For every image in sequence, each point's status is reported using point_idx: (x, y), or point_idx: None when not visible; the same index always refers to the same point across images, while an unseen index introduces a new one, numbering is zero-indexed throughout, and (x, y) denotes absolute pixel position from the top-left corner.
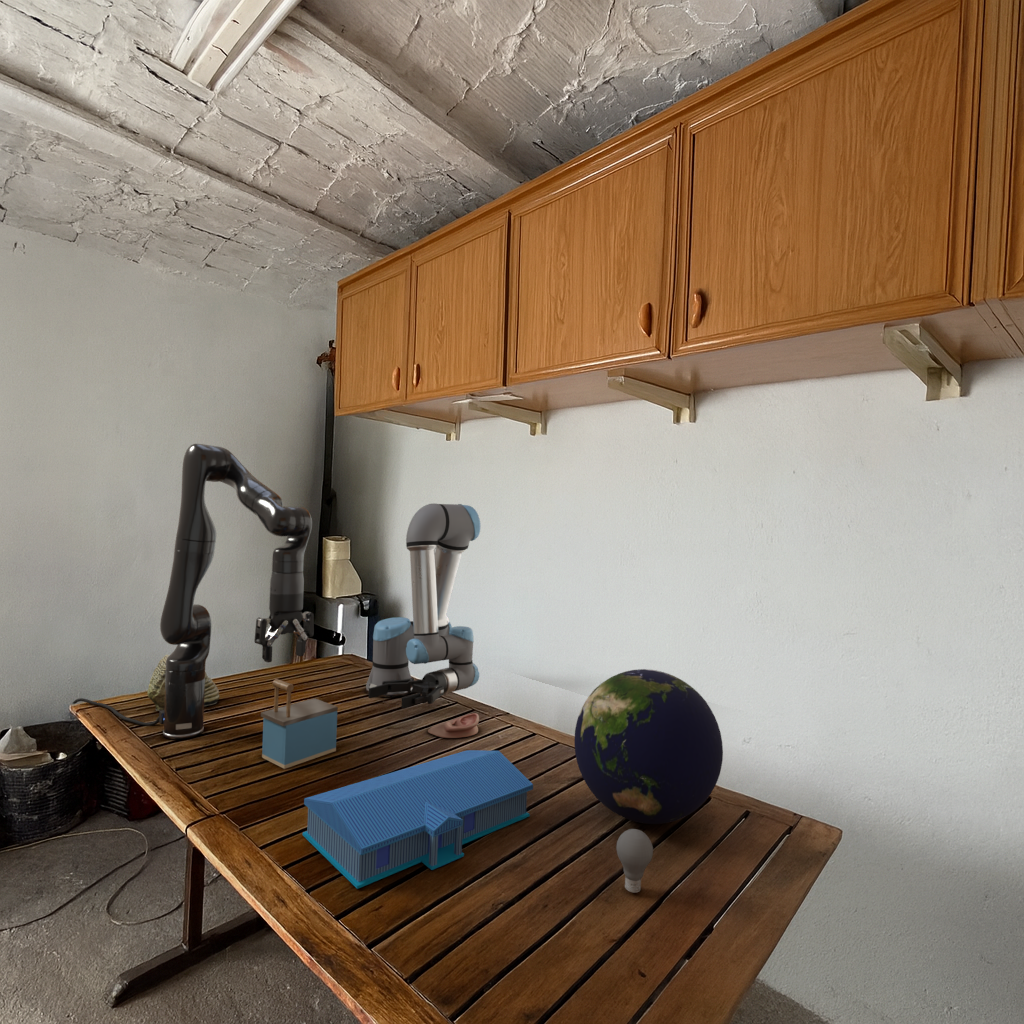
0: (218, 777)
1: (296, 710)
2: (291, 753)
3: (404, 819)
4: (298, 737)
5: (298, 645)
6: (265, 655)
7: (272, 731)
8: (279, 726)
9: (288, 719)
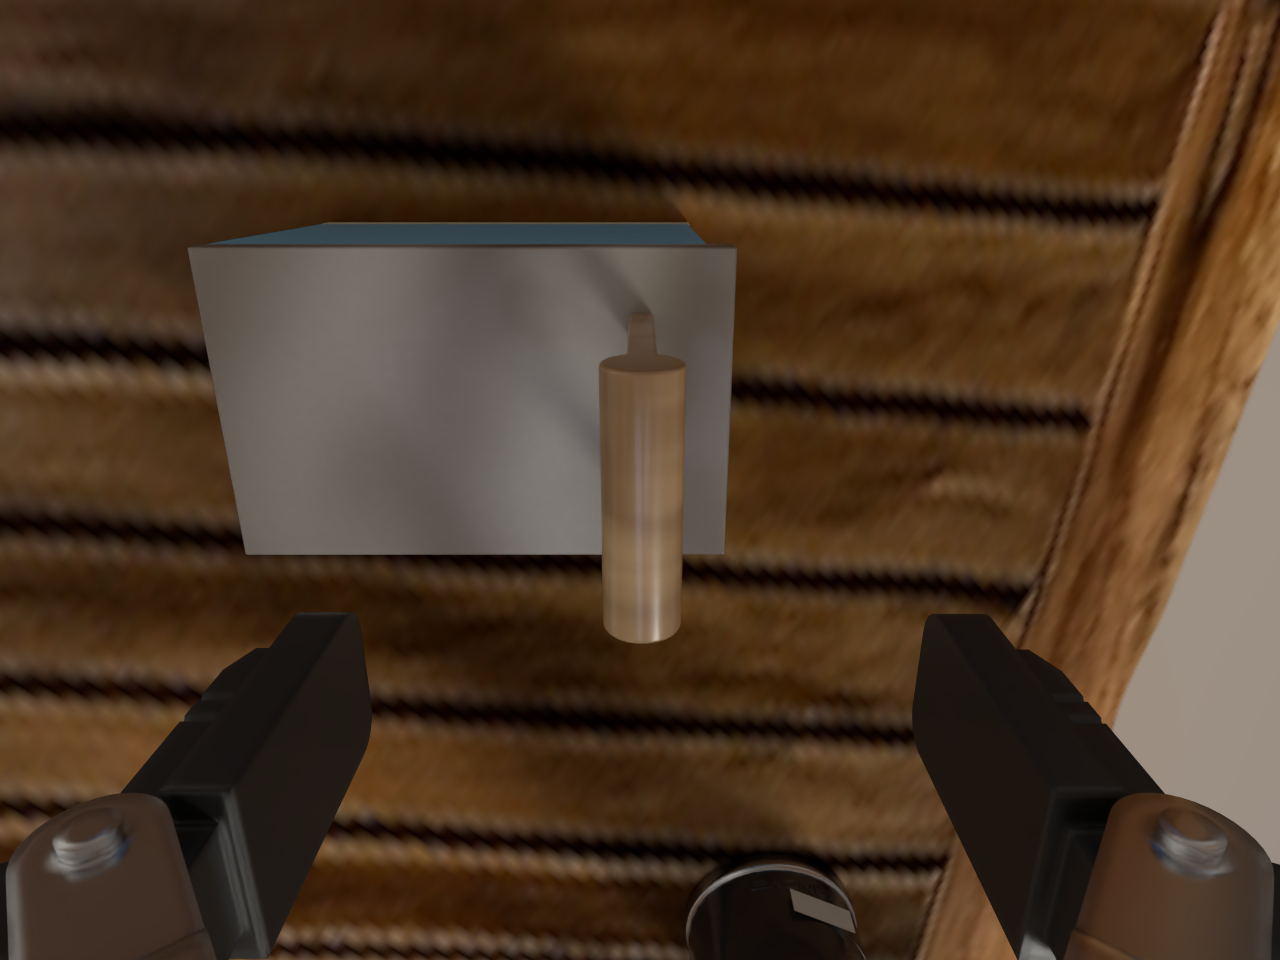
0: (966, 382)
1: (508, 409)
2: (645, 227)
3: None
4: (594, 234)
5: (298, 809)
6: (1089, 706)
7: None
8: None
9: (674, 268)
